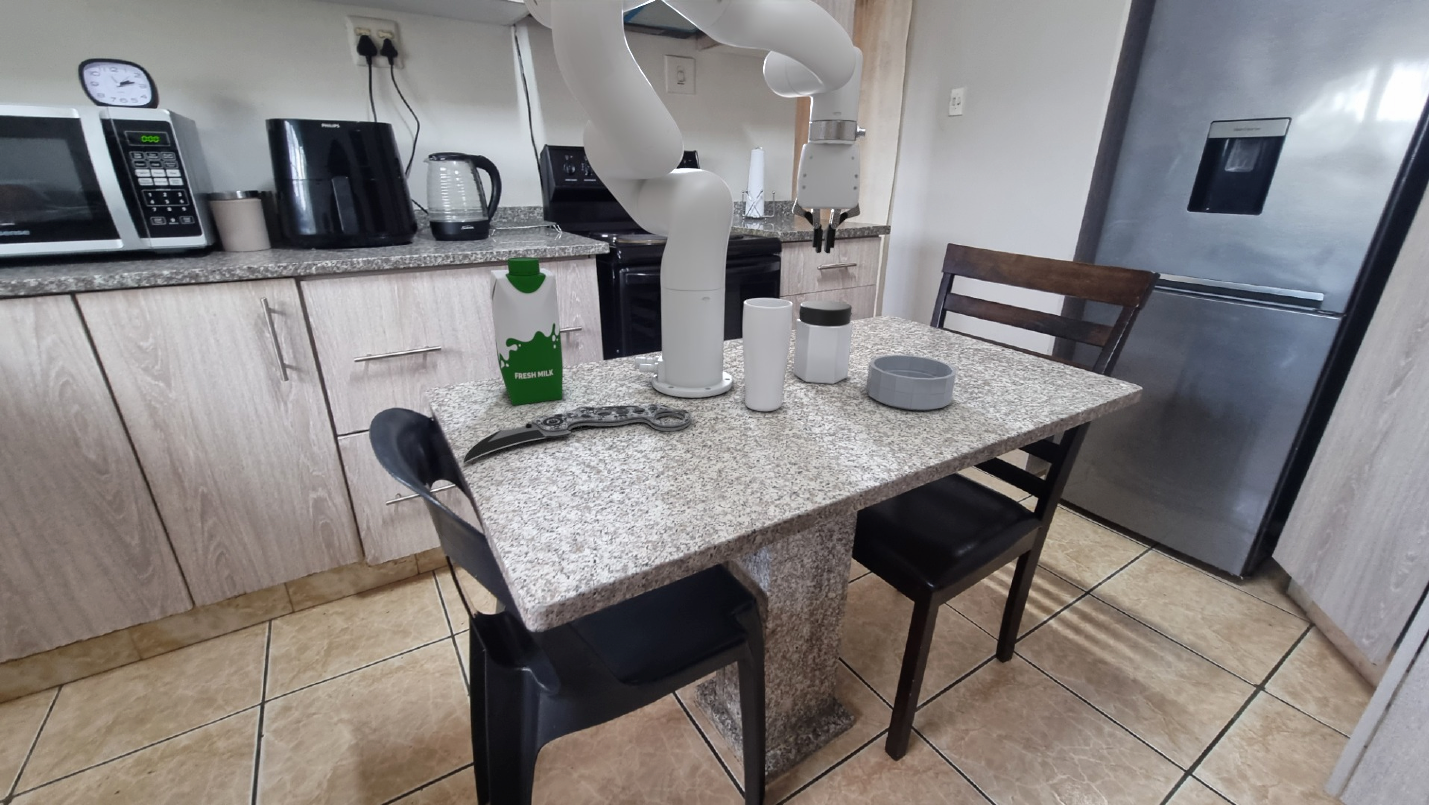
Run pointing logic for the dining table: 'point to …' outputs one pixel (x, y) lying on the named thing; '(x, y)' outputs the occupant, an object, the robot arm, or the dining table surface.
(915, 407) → the bowl
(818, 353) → the jar
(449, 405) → the dining table surface
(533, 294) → the milk carton
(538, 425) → the knife
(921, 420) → the dining table surface
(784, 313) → the drinking glass
